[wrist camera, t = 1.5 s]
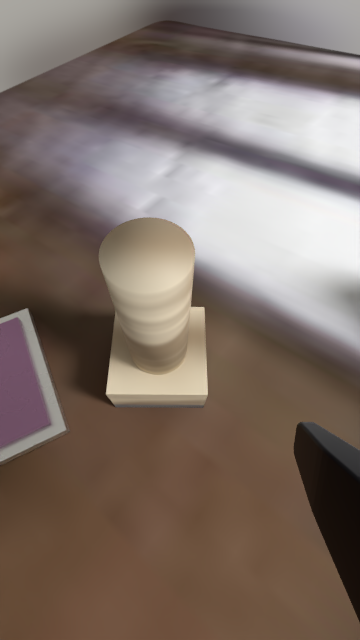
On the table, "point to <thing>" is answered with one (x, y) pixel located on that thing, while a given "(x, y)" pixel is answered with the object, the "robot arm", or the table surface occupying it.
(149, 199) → the table surface
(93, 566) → the table surface
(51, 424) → the ink pad
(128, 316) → the stamp
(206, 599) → the table surface
